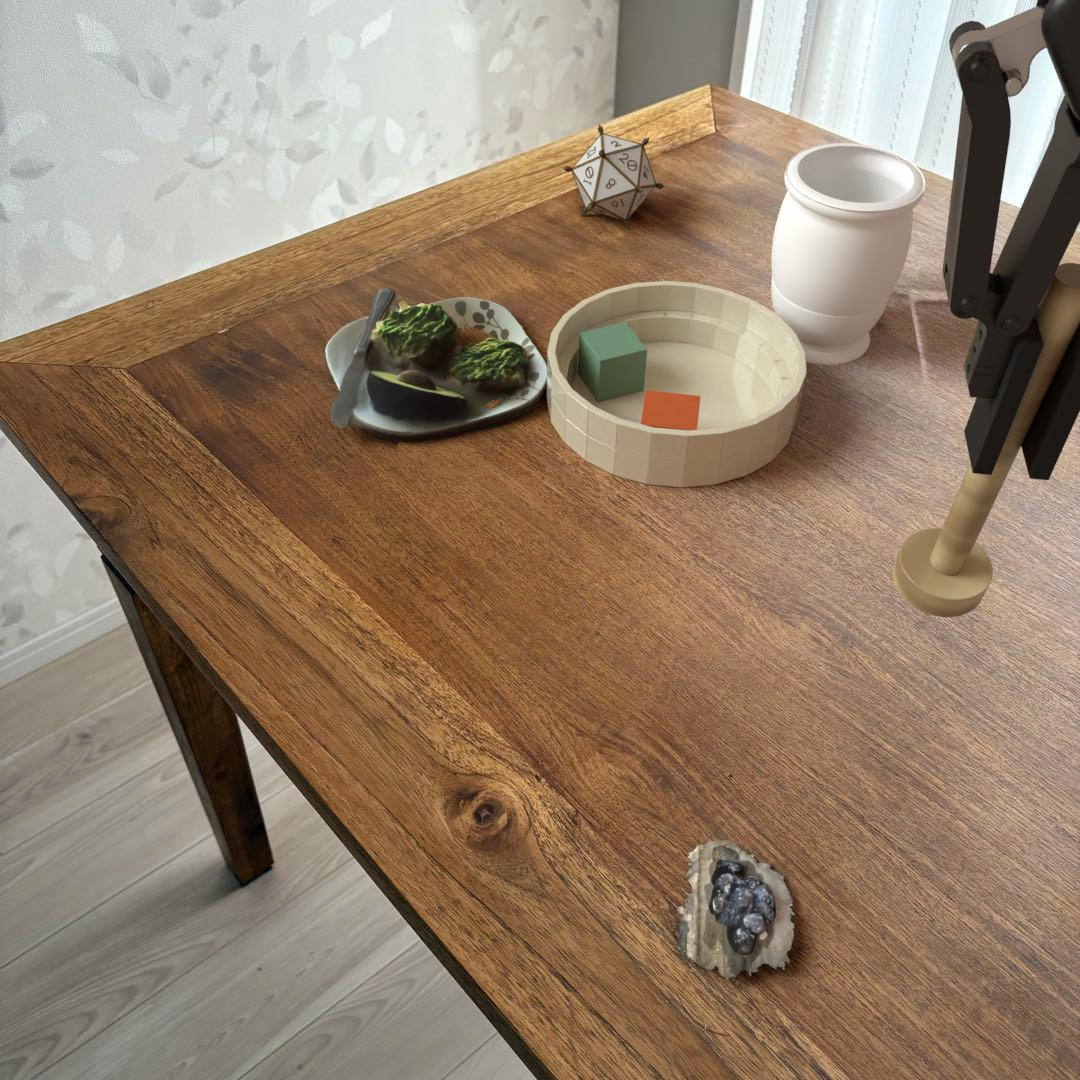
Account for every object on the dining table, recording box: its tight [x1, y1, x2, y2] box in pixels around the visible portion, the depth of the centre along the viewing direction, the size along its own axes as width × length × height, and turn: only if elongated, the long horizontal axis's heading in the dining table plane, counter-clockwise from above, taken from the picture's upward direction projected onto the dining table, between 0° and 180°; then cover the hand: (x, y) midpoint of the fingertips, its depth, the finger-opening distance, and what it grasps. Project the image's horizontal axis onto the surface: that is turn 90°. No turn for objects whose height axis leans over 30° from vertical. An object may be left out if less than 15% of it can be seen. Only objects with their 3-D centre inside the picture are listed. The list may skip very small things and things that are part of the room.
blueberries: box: [675, 838, 795, 980], centre depth 58 cm, size 7×8×2 cm
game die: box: [562, 124, 666, 230], centre depth 105 cm, size 9×8×10 cm
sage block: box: [578, 322, 647, 402], centre depth 87 cm, size 4×4×4 cm
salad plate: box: [324, 287, 547, 444], centre depth 89 cm, size 19×18×5 cm
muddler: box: [892, 262, 1080, 618], centre depth 48 cm, size 4×4×18 cm
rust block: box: [641, 390, 700, 430], centre depth 81 cm, size 4×4×4 cm
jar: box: [770, 142, 926, 366], centre depth 88 cm, size 11×10×15 cm
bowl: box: [546, 280, 808, 488], centre depth 85 cm, size 19×19×6 cm
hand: (1005, 454), depth 46 cm, fingers closed on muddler, 2 cm apart
